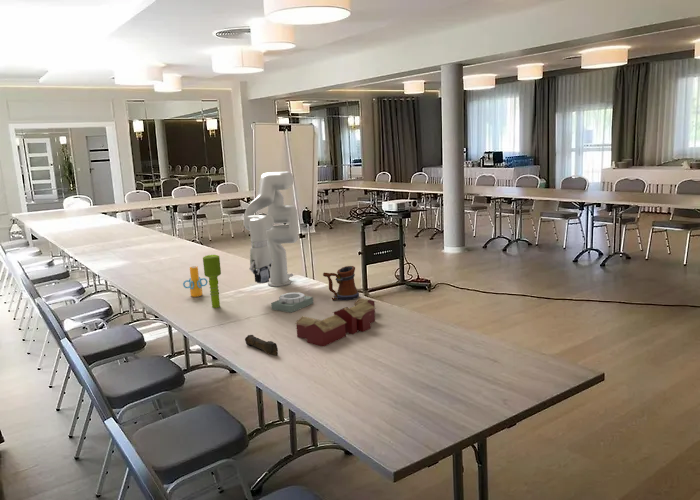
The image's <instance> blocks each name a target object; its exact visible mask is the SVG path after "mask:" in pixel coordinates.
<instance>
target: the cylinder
mask: <svg viewBox="0 0 700 500" xmlns="http://www.w3.org/2000/svg"><path fill="white" fill-rule="evenodd" d="M189 274H190V275H189V276H190V278H188V279H186V280H185V281H183V283H182V286H183V288H185V289H189V292H190V294H189V295H190V296H191V297H194V298H199V297H201V296H203V287H206V286H207V285H208V284H209V280H208V279H207V278H205V277H202V278H201V277H200V276H199V268H198V266H197V265H193V266H190V267H189ZM203 280H204V281H205V284H203V282H202V281H203ZM187 282H188V283H189V284H188V285H189V286H186V283H187Z"/></svg>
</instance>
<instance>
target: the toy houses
mask: <svg viewBox="0 0 700 500" xmlns="http://www.w3.org/2000/svg"><path fill="white" fill-rule="evenodd" d="M375 303H376V301H375V300H372V299H369V298H368V299H367V298H362V297H358V298H357V300H356V301H355V302H354V303H353V306H352V307H348V306H346V307H345V306H344V308H340V309H339V310H335V311H334V312H332V314H333V315H331V316H330V317H326V318H324V319H321V320H320V319H317V318H312V317H308V316H303V315H302V316H301V317H300V318H299V319H298V320H296V322H295V323H294V325H296V326H295V327H296V328H295V329H296V337H297V338H299V339H300V338H301V339H304V340H306V343H308V344H310V345H315V346H320V347H323V348H324V347H325V346H328V345H330V344H332V343H335V342H337V341H339V340H341V339H343V338H346V334H351V335H354V334H356V333H358V332H362V333H364V332H366V331H368V330H370V329H371V327H372V325H371V324H372V323H374V322H376V315H375V314H376V309H377V308H376V306H375V305H376V304H375Z"/></svg>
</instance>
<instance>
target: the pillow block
mask: <svg viewBox="0 0 700 500" xmlns="http://www.w3.org/2000/svg"><path fill="white" fill-rule="evenodd" d="M270 304H271V310H272V311H273V310H274V311H280V312H286V313H294V312H296V311H298V310H300V309H303V308H306V307H308V306H310V305H313V304H314V297H313V296H307V295H305V293H302V292H287V293H283V294H280V295H279V296H278V300H275V301H272V302H271V303H270Z"/></svg>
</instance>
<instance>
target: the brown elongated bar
mask: <svg viewBox="0 0 700 500" xmlns="http://www.w3.org/2000/svg"><path fill="white" fill-rule="evenodd" d="M244 340H245V344H246V345H247V346H248V347H249V346H252V347H255V348H257V349H259V350H261V351H264V352H265V353H266V354H268V355H269V356H270V355H271V356H278V352H279V351H278V345H277V343H275V342H274V341H272V340H268V341H266V340H264V339H261V338H259V337H256V336H255V335H254V334H248V335H247V336H246V337H244Z"/></svg>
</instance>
